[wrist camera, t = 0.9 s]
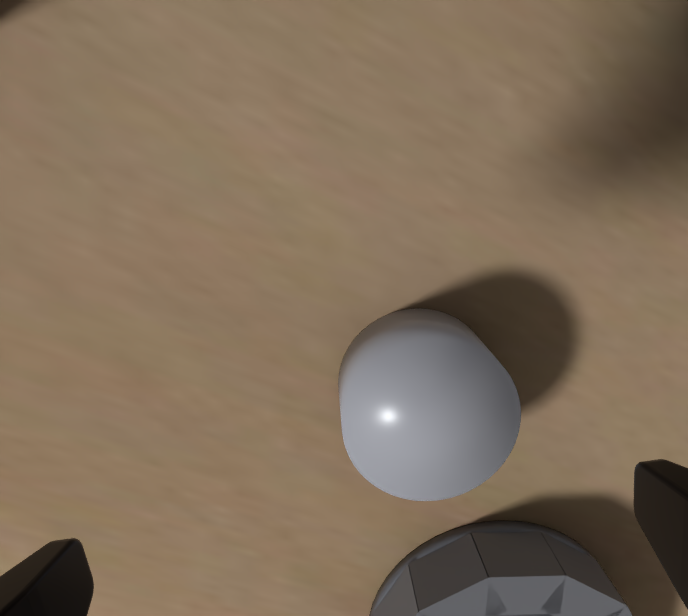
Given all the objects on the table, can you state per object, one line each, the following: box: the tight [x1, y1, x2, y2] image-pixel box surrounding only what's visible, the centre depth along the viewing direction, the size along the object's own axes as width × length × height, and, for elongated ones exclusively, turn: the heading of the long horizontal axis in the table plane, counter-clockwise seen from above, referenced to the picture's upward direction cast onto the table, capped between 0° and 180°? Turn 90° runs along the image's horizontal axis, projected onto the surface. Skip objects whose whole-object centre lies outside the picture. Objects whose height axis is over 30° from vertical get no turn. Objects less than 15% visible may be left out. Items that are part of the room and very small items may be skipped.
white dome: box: [338, 308, 521, 501], centre depth 20 cm, size 6×6×4 cm
